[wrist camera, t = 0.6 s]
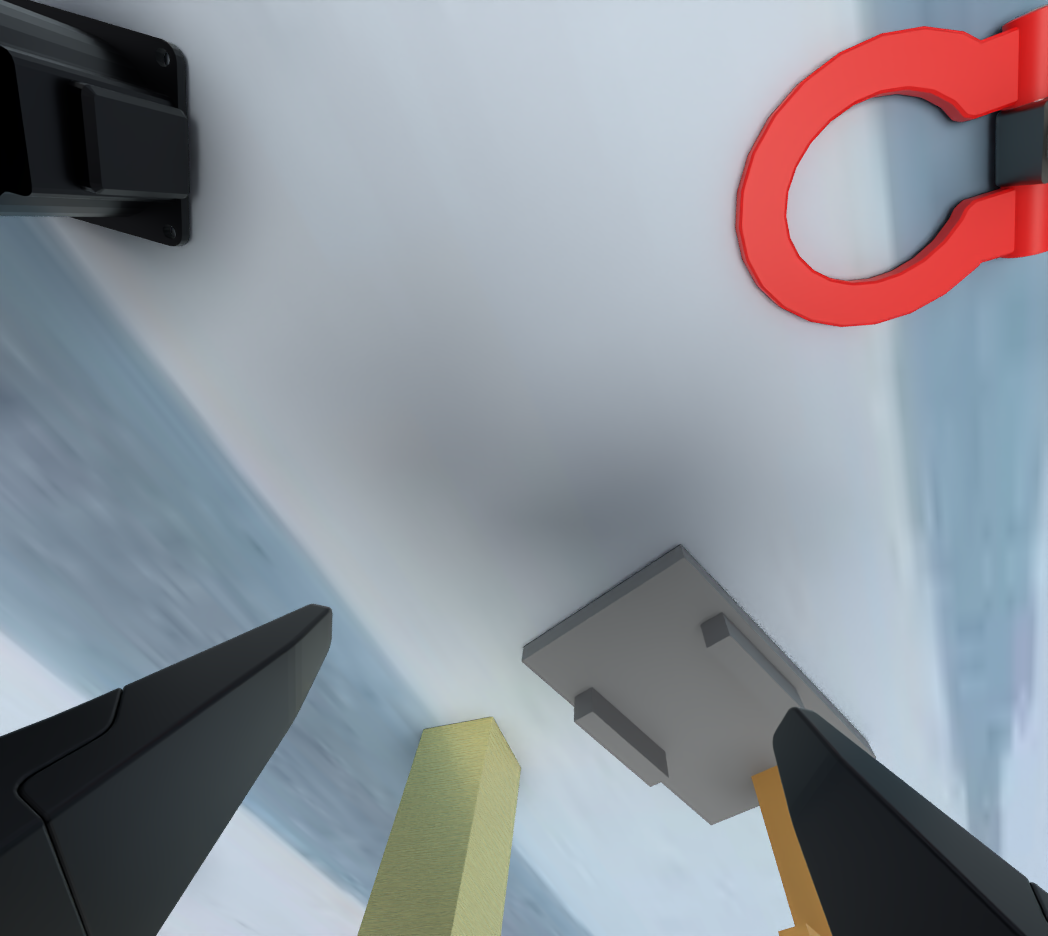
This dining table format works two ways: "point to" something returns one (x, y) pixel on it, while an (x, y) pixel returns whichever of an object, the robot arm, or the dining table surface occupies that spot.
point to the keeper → (690, 702)
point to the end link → (449, 838)
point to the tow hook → (975, 224)
